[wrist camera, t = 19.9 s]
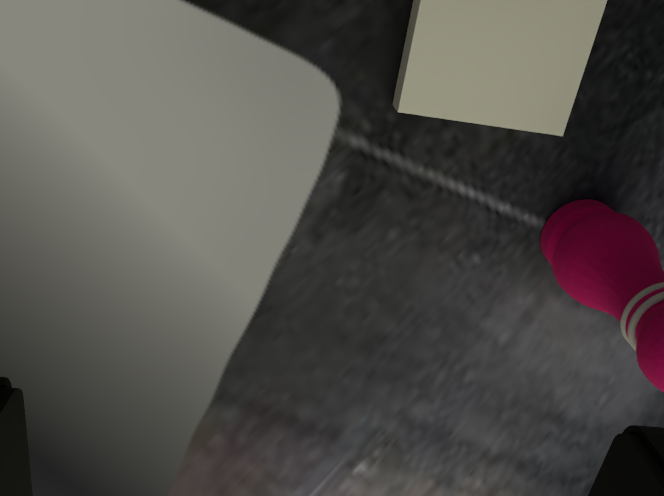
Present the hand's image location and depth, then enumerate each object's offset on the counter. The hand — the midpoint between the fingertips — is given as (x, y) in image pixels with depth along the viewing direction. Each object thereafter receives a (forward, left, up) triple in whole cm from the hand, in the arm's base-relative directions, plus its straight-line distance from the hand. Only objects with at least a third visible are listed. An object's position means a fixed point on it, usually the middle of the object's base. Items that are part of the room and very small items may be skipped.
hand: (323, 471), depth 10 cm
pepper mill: (+10, +24, -36) cm, 45 cm away
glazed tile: (+2, +13, -35) cm, 38 cm away
